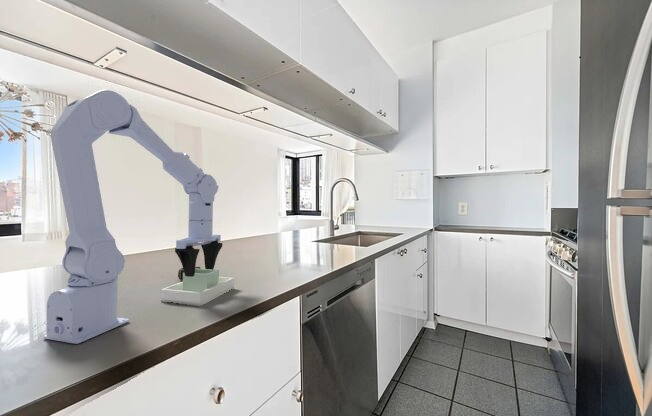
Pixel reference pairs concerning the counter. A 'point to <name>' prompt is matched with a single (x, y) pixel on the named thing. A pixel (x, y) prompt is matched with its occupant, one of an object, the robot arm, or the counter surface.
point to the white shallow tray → (196, 293)
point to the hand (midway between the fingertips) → (200, 272)
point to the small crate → (201, 280)
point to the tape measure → (181, 271)
